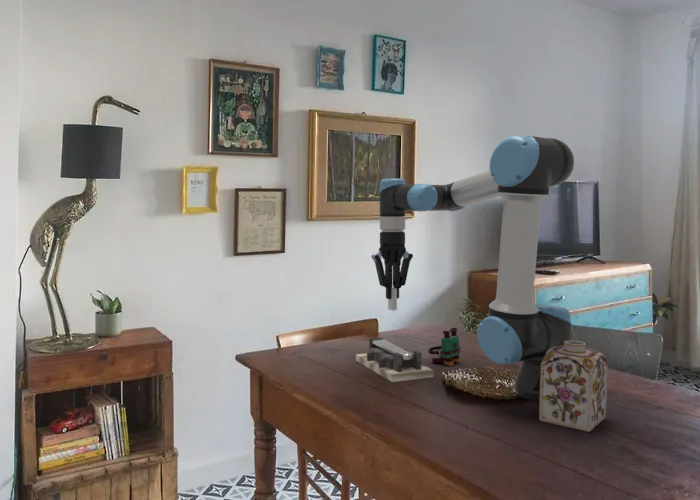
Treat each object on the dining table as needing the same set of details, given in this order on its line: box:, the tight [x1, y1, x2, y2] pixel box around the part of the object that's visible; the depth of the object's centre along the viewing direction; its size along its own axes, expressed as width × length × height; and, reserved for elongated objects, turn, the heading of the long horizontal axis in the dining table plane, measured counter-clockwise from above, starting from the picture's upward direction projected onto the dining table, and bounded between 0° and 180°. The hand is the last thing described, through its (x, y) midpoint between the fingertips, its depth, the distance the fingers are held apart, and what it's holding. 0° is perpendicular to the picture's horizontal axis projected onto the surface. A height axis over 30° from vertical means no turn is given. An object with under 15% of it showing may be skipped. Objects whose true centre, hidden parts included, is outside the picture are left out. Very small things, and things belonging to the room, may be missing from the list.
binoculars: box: [428, 327, 462, 367], centre depth 195 cm, size 9×11×10 cm
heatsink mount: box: [355, 337, 435, 383], centre depth 187 cm, size 25×13×7 cm, turn 23°
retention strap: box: [373, 339, 415, 360], centre depth 187 cm, size 20×4×2 cm, turn 23°
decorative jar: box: [538, 340, 609, 433], centre depth 143 cm, size 12×12×18 cm
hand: (392, 309), depth 190 cm, fingers closed
